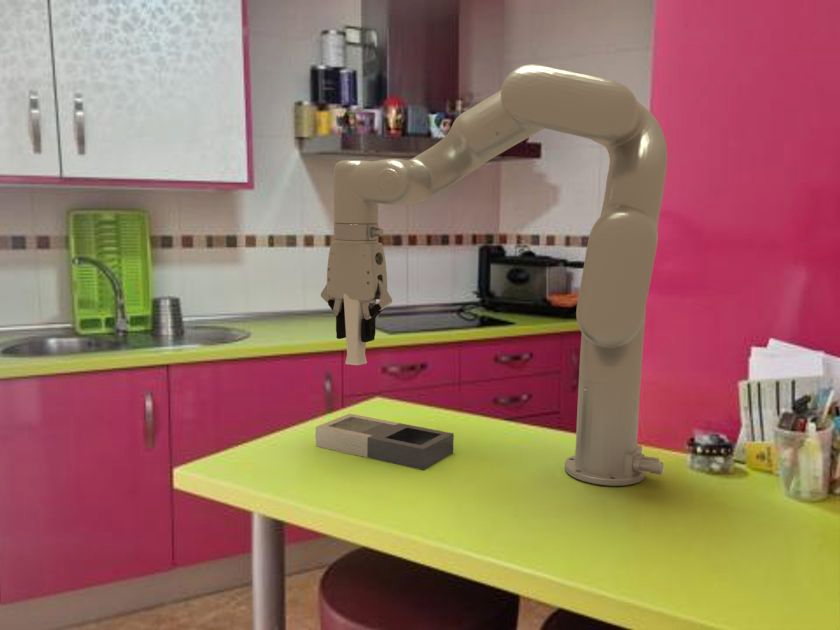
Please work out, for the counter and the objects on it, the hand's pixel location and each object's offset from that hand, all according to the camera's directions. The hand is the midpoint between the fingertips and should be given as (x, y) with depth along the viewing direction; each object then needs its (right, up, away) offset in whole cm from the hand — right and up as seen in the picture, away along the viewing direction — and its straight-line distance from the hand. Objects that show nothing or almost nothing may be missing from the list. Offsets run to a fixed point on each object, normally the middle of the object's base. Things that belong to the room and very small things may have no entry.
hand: (355, 338), depth 134 cm
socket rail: (+5, -19, 0) cm, 20 cm away
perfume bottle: (0, -4, +1) cm, 5 cm away
